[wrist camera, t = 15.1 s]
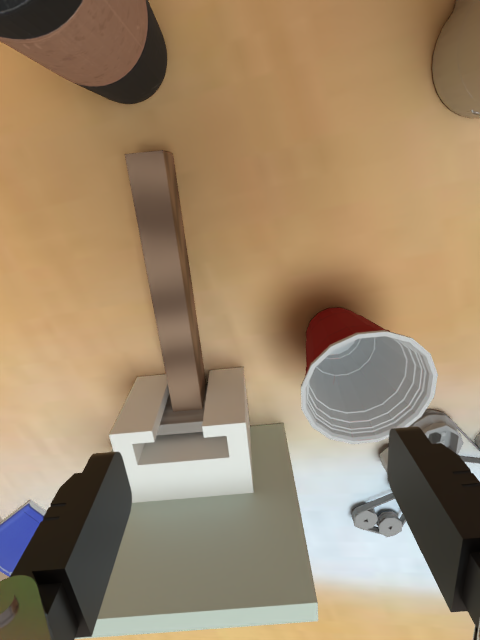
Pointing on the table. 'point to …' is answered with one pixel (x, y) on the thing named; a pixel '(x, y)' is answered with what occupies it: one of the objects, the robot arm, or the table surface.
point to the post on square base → (169, 287)
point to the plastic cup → (363, 378)
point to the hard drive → (18, 534)
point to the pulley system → (364, 516)
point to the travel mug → (91, 43)
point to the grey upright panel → (206, 520)
